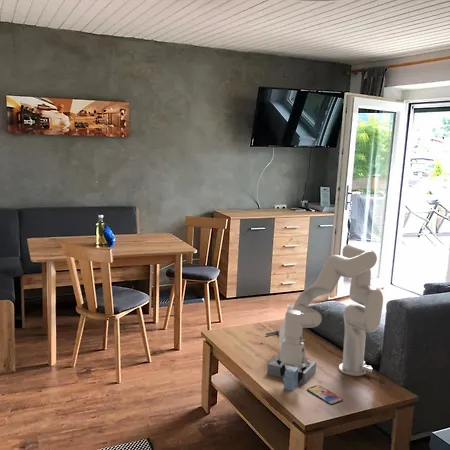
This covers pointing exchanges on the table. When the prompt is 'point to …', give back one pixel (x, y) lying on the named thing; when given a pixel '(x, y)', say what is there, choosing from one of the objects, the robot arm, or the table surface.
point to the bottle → (283, 328)
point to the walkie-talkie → (274, 332)
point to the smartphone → (324, 395)
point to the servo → (291, 378)
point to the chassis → (275, 369)
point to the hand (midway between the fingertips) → (291, 377)
